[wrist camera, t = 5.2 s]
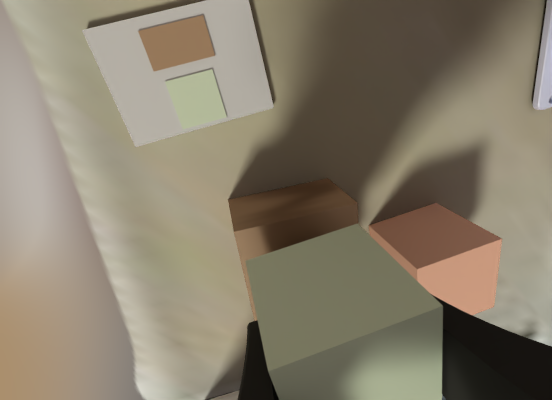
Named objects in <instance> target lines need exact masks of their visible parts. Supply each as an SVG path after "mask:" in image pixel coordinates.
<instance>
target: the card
mask: <svg viewBox="0 0 552 400" xmlns="http://www.w3.org/2000/svg"><path fill="white" fill-rule="evenodd" d="M82 32H83V34H84V36H85V38H86V40H87V42H88V45H89V47H90V49H91V51H92V53H93V55H94V58H95V60H96V62H97V64H98V66H99V69H100V71H101V73H102V75H103V77H104V79H105V82H106V84H107V86H108V88H109V90H110V92H111V95H112V97H113V99H114V101H115V103H116V105H117V108H118V110H119V112H120V114H121V116H122V118H123V121H124V123H125V125H126V127H127V129H128V132H129V134H130V136H131V138H132V140H133V142H134V145H135V147H138V146H141V145H145V144H148V143H152V142H155V141H159V140H162V139H166V138H169V137H173V136H176V135H180V134H183V133H187V132H190V131H194V130H197V129H201V128H204V127H208V126H211V125H215V124H219V123H222V122H226V121H229V120H233V119H236V118H240V117H243V116H247V115H250V114H254V113H257V112H261V111H264V110H268V109H271V108H274V106H273V102H272V97H271V93H270V89H269V85H268V80H267V76H266V72H265V67H264V63H263V59H262V55H261V50H260V46H259V42H258V38H257V33H256V29H255V25H254V21H253V16H252V12H251V8H250V3H249V0H206V1H201V2H197V3H193V4H189V5H185V6H181V7H176V8H172V9H168V10H164V11H160V12H156V13H151V14H147V15H143V16H139V17H135V18H131V19H126V20H122V21H118V22H114V23H110V24H105V25H101V26H97V27H93V28H89V29H85V30H82Z"/></svg>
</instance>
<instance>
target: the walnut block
mask: <svg viewBox="0 0 552 400" xmlns="http://www.w3.org/2000/svg"><path fill="white" fill-rule="evenodd" d="M228 201H229V207H230V213H231V218H232V224H233V229H234V234H235V238H236V243H237V247H238V251H239V256H240V260H241V264H242V269H243V273H244V277H245V281H246V286H247V290H248V294H249V299H250V303H251V307H252V312H253V316H254V320H255V321H256V320H257V315H256V310H255V305H254V300H253V296H252V291H251V286H250V281H249V276H248V271H247V266H246V262H245V261H246V260H249V259H252V258H255V257H258V256H261V255H264V254H267V253H270V252H273V251H276V250H279V249H282V248H285V247H288V246H291V245H294V244H297V243H300V242H303V241H306V240H309V239H312V238H315V237H318V236H321V235H324V234H327V233H330V232H333V231H336V230H339V229H342V228H345V227H348V226H351V225H354V224H357V223H358V203H357V202H356V201H355V200H353V199H352V198H351V197H350V196H349V195H347V194H346V193H345V192H344V191H343V190H341V189H340V188H339V187H338V186H337V185H335V184H334V183H333V182H332V181H331V180H329V179H328V178H327V179H322V180H317V181H313V182H308V183H303V184H299V185H294V186H289V187H285V188H280V189H275V190H271V191H266V192H262V193H257V194H252V195H248V196H243V197H238V198H234V199H229V200H228Z"/></svg>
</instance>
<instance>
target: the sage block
mask: <svg viewBox="0 0 552 400" xmlns="http://www.w3.org/2000/svg"><path fill="white" fill-rule="evenodd" d="M245 262H246V266H247V271H248V276H249V281H250V286H251V291H252V296H253V300H254V305H255V310H256V315H257V320H258V325H259V329H260V334H261V339H262V344H263V349H264V354H265V359H266V363H267V368H268V372H269V375H270V377H271V380H272V383H273V385H274V388H275V390H276V393H277V396H278V398H279V400H442V341H443V305H441V304H440V303H439V302H438V301H437V300H436V299H435V298H434V297H433V296H432V295H431V294H430V293H429V292H428V291H427V290H426V289H425V288H424V287H423V286H422V285H421V284H420V283H419V282H418V281H417V280H416V279H415V278H414V277H412V276H411V275H410V274H409V273H408V272H407V271H406V270H405V269H404V268H403V267H402V266H401V265H400V264H399V263H398V262H397V261H396V260H395V259H394V258H393V257H392V256H391V255H390V254H389V253H388V252H387V251H386V250H384V249H383V248H382V247H381V246H380V245H379V244H378V243H377V242H376V241H375V240H374V239H373V238H372V237H371V236H370V235H369V234H368V233H367V232H366V231H365V230H364V229H363V228H362V227H361V226H360V225H359V224H358V223H357V224H354V225H351V226H348V227H345V228H342V229H339V230H336V231H333V232H330V233H327V234H324V235H321V236H318V237H315V238H312V239H309V240H306V241H303V242H300V243H297V244H294V245H291V246H288V247H285V248H282V249H279V250H276V251H273V252H270V253H267V254H264V255H261V256H258V257H255V258H252V259H249V260H246V261H245Z"/></svg>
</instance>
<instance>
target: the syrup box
mask: <svg viewBox="0 0 552 400" xmlns="http://www.w3.org/2000/svg"><path fill="white" fill-rule="evenodd" d="M238 395H239V390H238V391H235V392H232V393H229V394H225V395H222V396H219V397H215V398H212V399H210V400H238Z"/></svg>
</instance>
